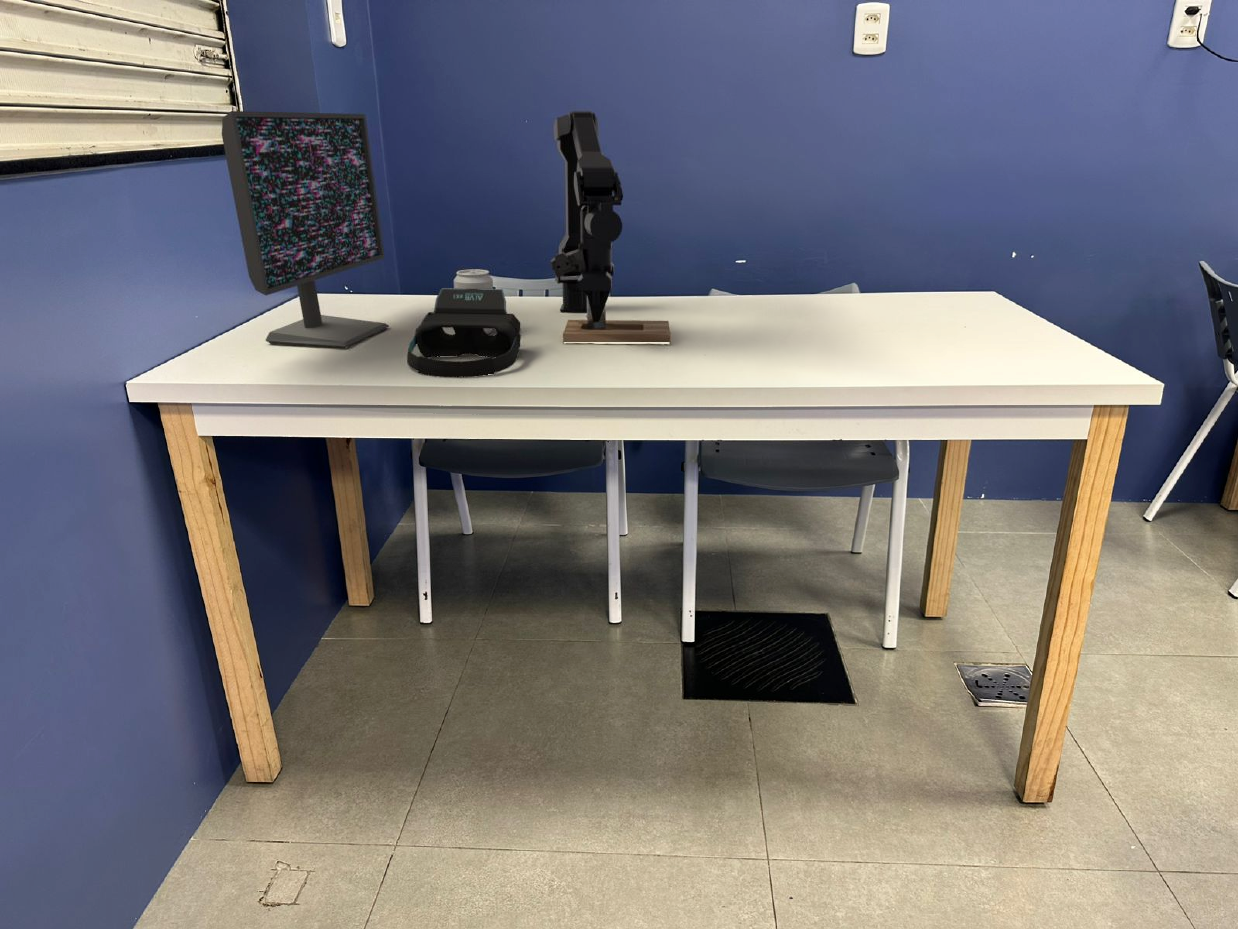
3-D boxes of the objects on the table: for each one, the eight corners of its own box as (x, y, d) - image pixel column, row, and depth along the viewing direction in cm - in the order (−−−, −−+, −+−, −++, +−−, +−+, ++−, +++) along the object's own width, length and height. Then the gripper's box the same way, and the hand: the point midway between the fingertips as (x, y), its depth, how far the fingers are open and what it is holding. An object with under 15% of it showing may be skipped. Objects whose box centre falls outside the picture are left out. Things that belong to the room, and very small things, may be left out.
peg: (587, 327, 168) (587, 286, 165) (606, 328, 167) (606, 286, 164) (586, 332, 164) (586, 290, 161) (605, 332, 164) (605, 290, 161)
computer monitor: (309, 367, 144) (274, 110, 130) (222, 362, 147) (179, 110, 133) (416, 315, 184) (399, 114, 169) (347, 312, 187) (324, 113, 172)
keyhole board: (568, 329, 172) (568, 319, 171) (668, 330, 171) (668, 320, 171) (563, 343, 161) (562, 333, 160) (670, 344, 160) (670, 334, 160)
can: (453, 336, 166) (449, 273, 162) (461, 327, 173) (457, 267, 169) (491, 336, 166) (488, 274, 162) (498, 328, 173) (495, 267, 169)
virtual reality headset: (526, 340, 160) (523, 289, 154) (512, 392, 141) (508, 335, 136) (426, 339, 160) (420, 287, 154) (398, 390, 141) (391, 333, 136)
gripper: (557, 230, 168) (559, 309, 174) (547, 242, 151) (549, 330, 157) (614, 230, 168) (614, 310, 174) (611, 243, 151) (610, 330, 156)
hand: (596, 319), depth 165 cm, fingers closed on peg, 4 cm apart
